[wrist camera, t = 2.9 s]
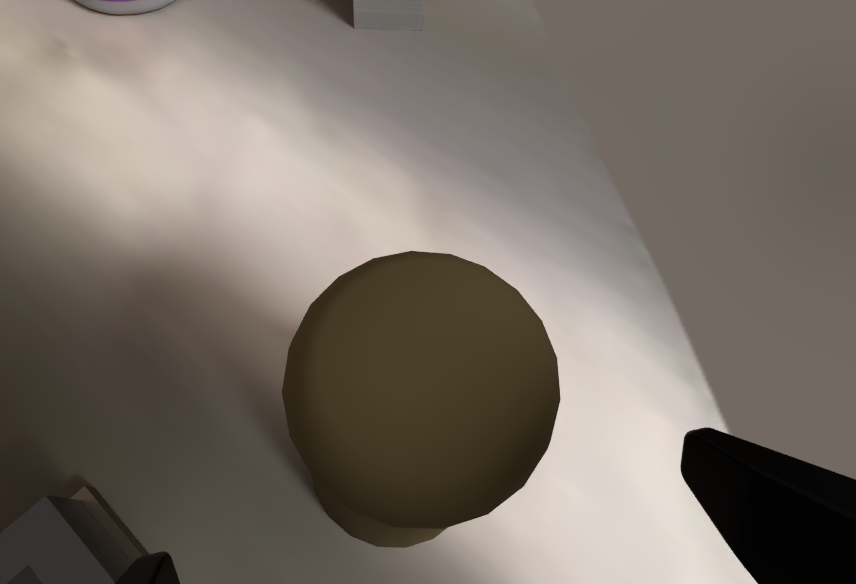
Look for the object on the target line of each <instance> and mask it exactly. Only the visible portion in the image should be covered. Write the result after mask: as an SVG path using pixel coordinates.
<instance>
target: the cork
mask: <svg viewBox="0 0 856 584" xmlns="http://www.w3.org/2000/svg"><path fill="white" fill-rule="evenodd" d="M282 395H283V400H284V406H285V412H286V417H287V423H288V428H289V434H290V437H291V439H292V441H293V443H294V445H295V446H296V448H297V450H298V452H299V454H300V455H301V457H302V459H303V461H304V463H305V464H306V466H307V468H308V470H309V471H310V473H311V475H312V477H313V482H314V487H315V492H316V494H317V496H318V497H319V499H320V501H321V503H322V505H323V506H324V508H325V510H326V512H327V514H328V515H329V517H330V518H331V519H332V520H333V521H335V522H336V523H337V524H338V525H339V526H340V527H341V528H342V529H344V530H345V531H346V532H347V533H348V534H349V535H350V536H352V537H355V538H357V539H360V540H362V541H365V542H367V543H370V544H372V545H375V546H377V547H409V546H412V545H415V544H418V543H421V542H424V541H427V540H430V539H433V538H435V537H436V536H437V535H439V534H440V533H441V532H442V531H444V530H445V529H446V528H448V527H450V526H453V525H456V524H459V523H462V522H465V521H469V520H472V519H475V518H478V517H481V516H484V515H487V514H489V513H490V512H491V511H493V510H494V509H495V508H496V507H498V506H499V505H500V504H502V503H503V502H504V501H505V500H507V499H508V498H509V497H511V496H512V495H513V494H514V493H516V492H517V491H518V490H519V489H521V488H522V487H523V486H524V485H525V483H526V482H527V480H528V479H529V477H530V476H531V474H532V472H533V471H534V469H535V468H536V466H537V465H538V463H539V461H540V460H541V458H542V457H543V455H544V454H545V452H546V450H547V449H548V446H549V443H550V440H551V436H552V432H553V428H554V424H555V420H556V415H557V411H558V407H559V403H560V388H559V376H558V365H557V357H556V354H555V352H554V350H553V347H552V345H551V342H550V340H549V337H548V335H547V332H546V330H545V327H544V325H543V323H542V320H541V319H540V318H539V317H538V315H537V314H536V313H535V312H534V310H533V309H532V308H531V307H530V305H529V304H528V303H527V302H526V300H525V299H524V298H523V297H522V295H521V294H520V293H519V292H518V290H517V289H515V288H514V287H512V286H511V285H510V284H508V283H507V282H505V281H504V280H503V279H501V278H500V277H498V276H497V275H496V274H494V273H493V272H491V271H490V270H489V269H487V268H486V267H484V266H482V265H479V264H476V263H473V262H471V261H468V260H465V259H462V258H460V257H457V256H454V255H451V254H442V253H430V252H417V251H409V252H404V253H399V254H394V255H389V256H384V257H379V258H374V259H372V260H370V261H368V262H366V263H364V264H362V265H360V266H358V267H356V268H354V269H352V270H351V271H349V272H347V273H345V274H343V275H341V276H339V277H338V278H337V279H336V280H335V281H334V282H333V283H332V284H331V285H330V286H329V287H328V288H327V289H326V290H325V291H324V292H323V293H322V294H321V295H320V296H319V297H318V298H317V299H316V300H315V301H314V302H313V303H312V304H311V305H310V307H309V309H308V311H307V313H306V314H305V316H304V318H303V320H302V322H301V324H300V326H299V328H298V330H297V332H296V334H295V336H294V338H293V340H292V342H291V345H290V347H289V351H288V357H287V364H286V370H285V377H284V383H283V389H282Z"/></svg>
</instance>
